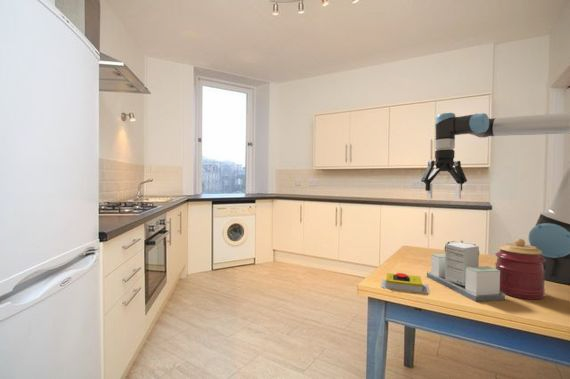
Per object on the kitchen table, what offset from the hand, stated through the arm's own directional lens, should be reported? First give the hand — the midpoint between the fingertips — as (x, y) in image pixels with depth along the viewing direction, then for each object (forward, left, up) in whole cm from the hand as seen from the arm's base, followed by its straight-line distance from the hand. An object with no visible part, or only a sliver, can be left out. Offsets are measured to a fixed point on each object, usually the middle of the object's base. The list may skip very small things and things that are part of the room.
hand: (443, 198), depth 132 cm
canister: (-28, +21, -29) cm, 45 cm away
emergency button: (+2, +40, -29) cm, 50 cm away
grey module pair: (-13, +28, -27) cm, 41 cm away
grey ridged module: (-13, +28, -27) cm, 41 cm away
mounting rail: (-13, +28, -29) cm, 42 cm away
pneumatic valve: (-8, +5, -29) cm, 30 cm away
